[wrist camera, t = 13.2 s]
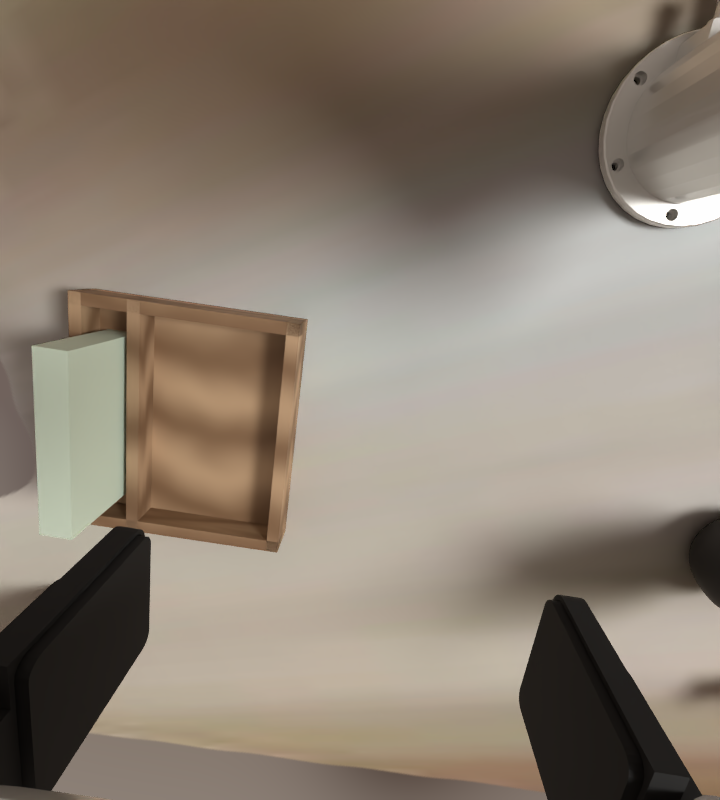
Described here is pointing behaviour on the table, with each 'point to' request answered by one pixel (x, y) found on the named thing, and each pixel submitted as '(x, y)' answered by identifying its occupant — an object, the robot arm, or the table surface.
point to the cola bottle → (707, 561)
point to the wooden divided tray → (202, 416)
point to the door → (79, 429)
